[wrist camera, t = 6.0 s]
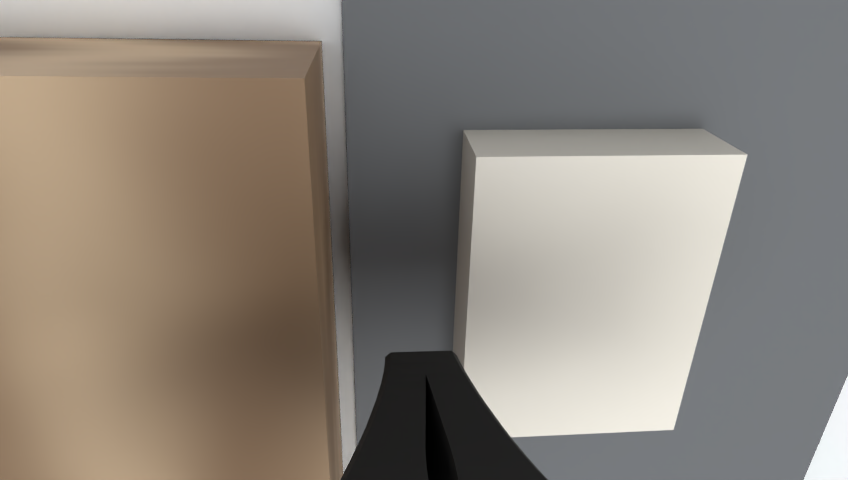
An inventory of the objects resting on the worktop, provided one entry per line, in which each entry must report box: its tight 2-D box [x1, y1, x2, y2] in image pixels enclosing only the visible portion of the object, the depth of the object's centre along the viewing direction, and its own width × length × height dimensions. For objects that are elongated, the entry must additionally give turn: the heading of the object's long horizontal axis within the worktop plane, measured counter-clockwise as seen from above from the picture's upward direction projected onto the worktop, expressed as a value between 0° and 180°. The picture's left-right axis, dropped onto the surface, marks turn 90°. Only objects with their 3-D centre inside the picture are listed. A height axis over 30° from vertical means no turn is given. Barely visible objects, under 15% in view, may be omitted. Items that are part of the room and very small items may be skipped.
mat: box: [342, 0, 848, 480], centre depth 17 cm, size 16×20×1 cm
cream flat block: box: [453, 129, 747, 437], centre depth 16 cm, size 6×8×2 cm
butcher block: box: [0, 37, 343, 480], centre depth 15 cm, size 16×16×4 cm
